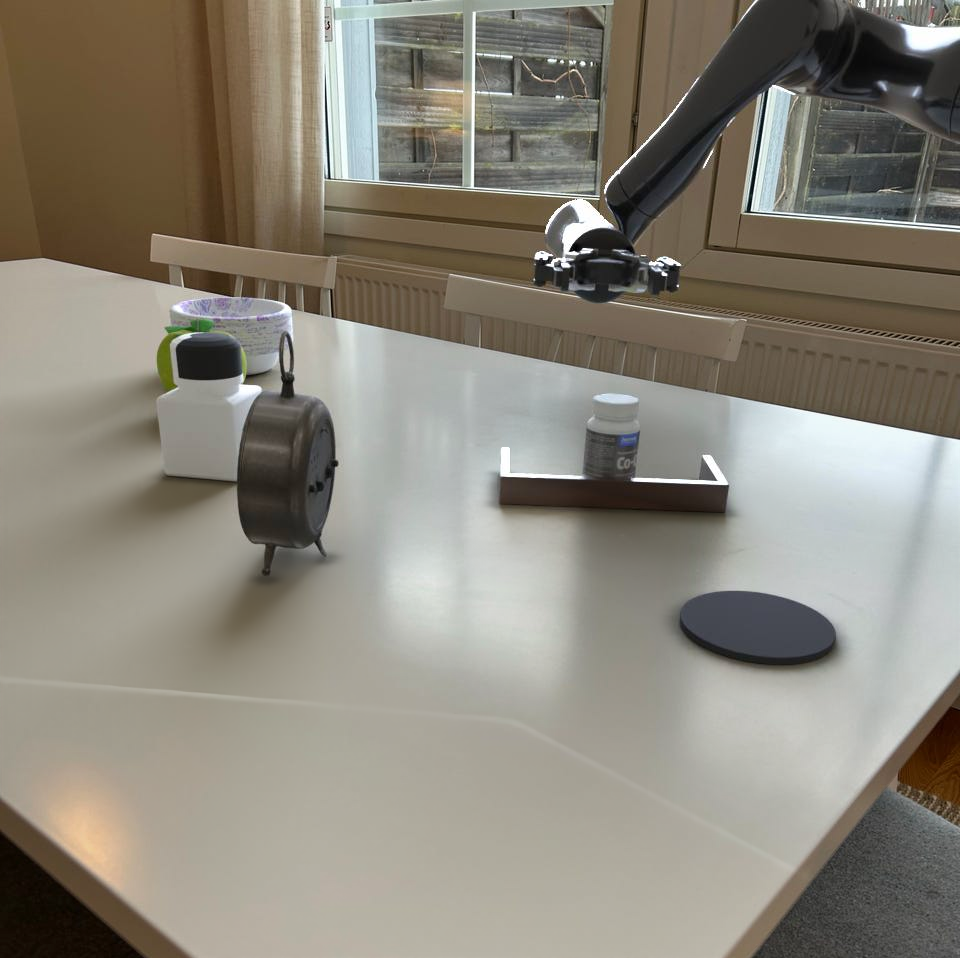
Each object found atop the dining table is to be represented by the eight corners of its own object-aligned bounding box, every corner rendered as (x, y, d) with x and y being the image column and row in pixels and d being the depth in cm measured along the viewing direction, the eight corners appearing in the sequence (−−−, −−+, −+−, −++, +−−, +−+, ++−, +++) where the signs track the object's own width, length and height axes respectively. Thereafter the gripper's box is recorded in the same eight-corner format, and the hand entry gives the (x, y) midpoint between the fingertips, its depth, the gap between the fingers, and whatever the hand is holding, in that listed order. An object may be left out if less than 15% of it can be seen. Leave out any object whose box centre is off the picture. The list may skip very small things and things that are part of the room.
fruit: (146, 418, 106) (134, 322, 101) (191, 399, 114) (181, 309, 109) (223, 427, 104) (214, 329, 99) (263, 406, 112) (257, 315, 107)
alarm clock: (282, 527, 79) (269, 316, 71) (349, 531, 78) (342, 320, 71) (238, 581, 69) (218, 344, 61) (314, 587, 69) (302, 349, 61)
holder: (499, 473, 93) (500, 447, 92) (707, 481, 93) (710, 455, 92) (499, 503, 85) (500, 476, 84) (725, 512, 85) (729, 485, 84)
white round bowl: (237, 387, 120) (232, 320, 116) (150, 370, 127) (142, 305, 123) (318, 367, 131) (316, 305, 128) (235, 352, 138) (230, 292, 135)
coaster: (730, 584, 71) (731, 578, 71) (861, 631, 65) (863, 624, 65) (649, 626, 65) (650, 619, 65) (786, 681, 59) (788, 674, 58)
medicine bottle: (267, 460, 94) (258, 331, 89) (238, 482, 88) (226, 345, 82) (197, 454, 95) (184, 326, 90) (163, 476, 89) (147, 339, 83)
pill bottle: (621, 502, 86) (631, 407, 83) (572, 492, 88) (580, 399, 85) (641, 488, 90) (651, 396, 86) (593, 479, 92) (601, 389, 88)
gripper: (533, 220, 104) (537, 235, 90) (667, 226, 104) (693, 241, 90) (529, 294, 108) (532, 320, 93) (659, 300, 108) (682, 326, 93)
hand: (611, 281), depth 92 cm, fingers open, 8 cm apart
